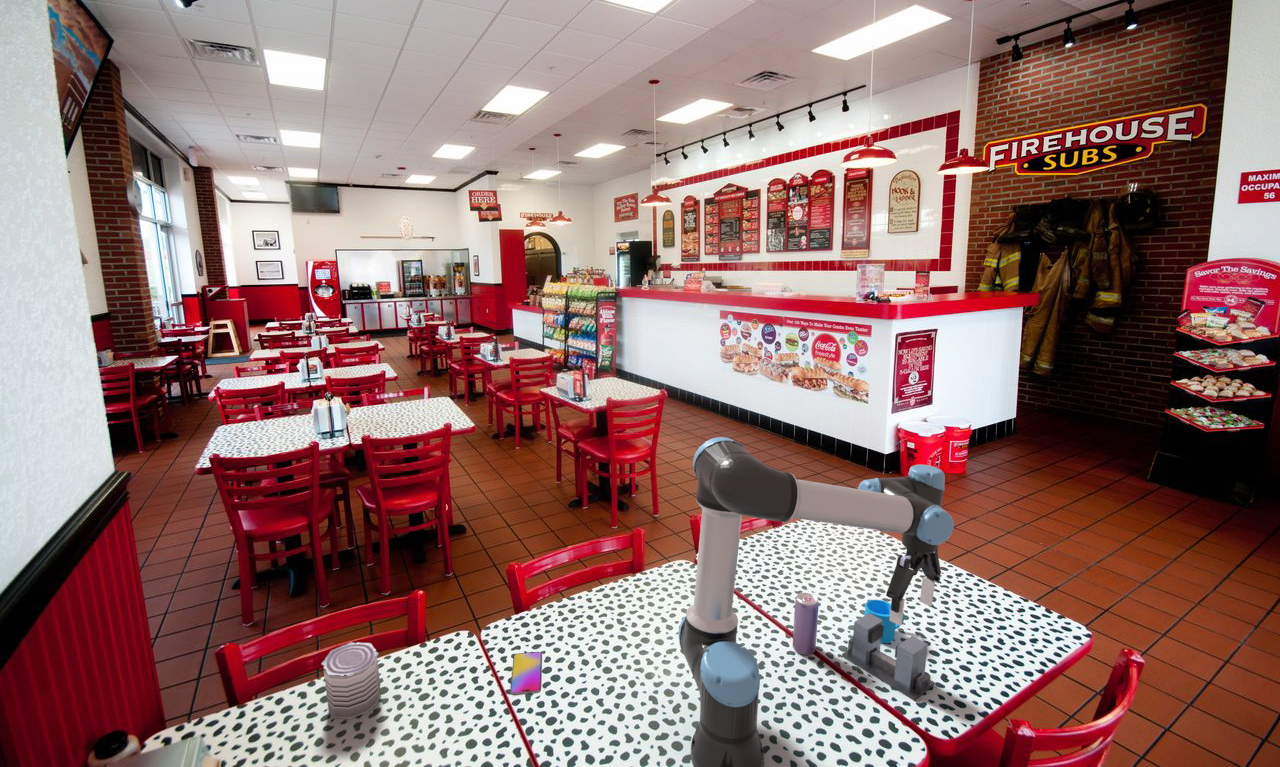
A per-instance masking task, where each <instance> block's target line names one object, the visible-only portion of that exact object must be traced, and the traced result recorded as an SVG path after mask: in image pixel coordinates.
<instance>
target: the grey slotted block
mask: <svg viewBox="0 0 1280 767" xmlns="http://www.w3.org/2000/svg"><path fill="white" fill-rule="evenodd" d="M864 615H865V614H864ZM882 625H883V620H882V619H880V618H878V617H876V616H874V615H872V614H870V613H868V614H867V615H865V616H862V617H860V618H859V619H856V620H855V621H854V624H853V637H851V638H850V639H848V644H847V645H848V646H847V650H846V651H844V652H843V653H841V657H842V658H843V657H844V659H845V660H847V661H848V662H851V663H852V664H853V665H855V666H856V667H858V668H860V669H862V670H863V671H865V672H866V673H868V674H870V675H871V676H873V677H874V678H877V679H878V680H880V681H881V682H883V683H884V684H886V685H888V686H889V687H891V688H893V689H894V690H896V691H898V692H900V693H901V694H903V695H905V696H906V697H907V698H910V700H912V701H914V702H916V701H917V700H918V699H920V698H921V697H922V696H923V695H924V694H926V693H927V692H928V691H929V690H931V689H932V688H933V687H934V686H935V681H933V680H932V678H931V675H930V674H928V673H925V674H924V676H921V675H919V674H918V675H917V676H915V677H914V683H913V689H911V690H910V691H908V690H907V689H905V688H903V687H902V686H900V685H898V684H897V683H895V682H894V676H895V666H896V659H894V658H892V657H891V656H889V655H887V654H886V653H884V652H882V651H881V645H882V643H881V638H882V637H883V629H884V626H882Z"/></svg>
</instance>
